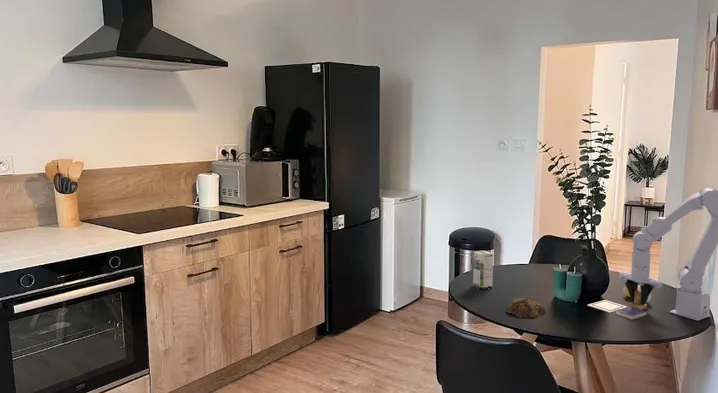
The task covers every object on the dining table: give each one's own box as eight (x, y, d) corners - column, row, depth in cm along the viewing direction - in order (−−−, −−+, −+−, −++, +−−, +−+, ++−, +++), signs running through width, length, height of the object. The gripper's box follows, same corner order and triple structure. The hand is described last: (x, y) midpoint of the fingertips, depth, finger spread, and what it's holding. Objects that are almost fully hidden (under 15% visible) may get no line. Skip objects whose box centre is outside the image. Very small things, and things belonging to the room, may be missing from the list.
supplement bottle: (622, 296, 207) (639, 305, 197) (622, 282, 207) (639, 290, 197) (636, 295, 208) (653, 303, 198) (636, 281, 207) (653, 289, 197)
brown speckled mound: (517, 304, 201) (517, 291, 200) (549, 312, 192) (549, 298, 191) (498, 313, 192) (499, 299, 191) (531, 321, 183) (531, 307, 182)
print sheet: (627, 307, 195) (627, 306, 195) (609, 312, 190) (609, 311, 190) (604, 300, 202) (604, 299, 202) (587, 305, 197) (587, 304, 197)
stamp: (646, 308, 193) (647, 292, 192) (640, 311, 191) (641, 293, 190) (636, 305, 197) (637, 289, 196) (629, 307, 194) (630, 291, 194)
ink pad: (646, 314, 187) (646, 311, 187) (632, 319, 183) (632, 316, 183) (630, 309, 192) (630, 306, 192) (616, 314, 188) (616, 310, 188)
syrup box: (472, 286, 222) (473, 251, 220) (484, 284, 225) (484, 249, 223) (481, 290, 217) (481, 254, 215) (493, 287, 219) (493, 252, 218)
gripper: (667, 268, 188) (665, 305, 190) (626, 259, 200) (624, 295, 202) (657, 271, 184) (654, 310, 186) (616, 262, 196) (614, 299, 198)
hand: (638, 302), depth 194 cm, fingers closed on stamp, 3 cm apart
